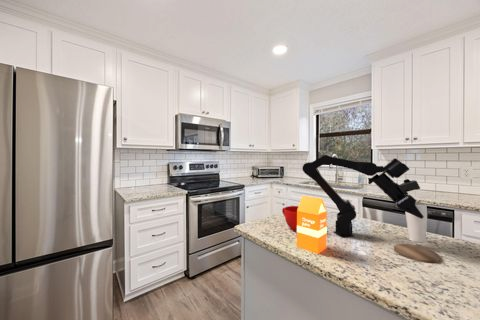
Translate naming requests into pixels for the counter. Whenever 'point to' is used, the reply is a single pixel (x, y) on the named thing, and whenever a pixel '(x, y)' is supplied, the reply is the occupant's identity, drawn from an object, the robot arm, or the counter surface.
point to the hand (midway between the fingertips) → (420, 215)
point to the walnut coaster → (417, 253)
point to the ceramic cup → (291, 216)
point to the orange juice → (311, 224)
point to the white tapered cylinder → (417, 224)
